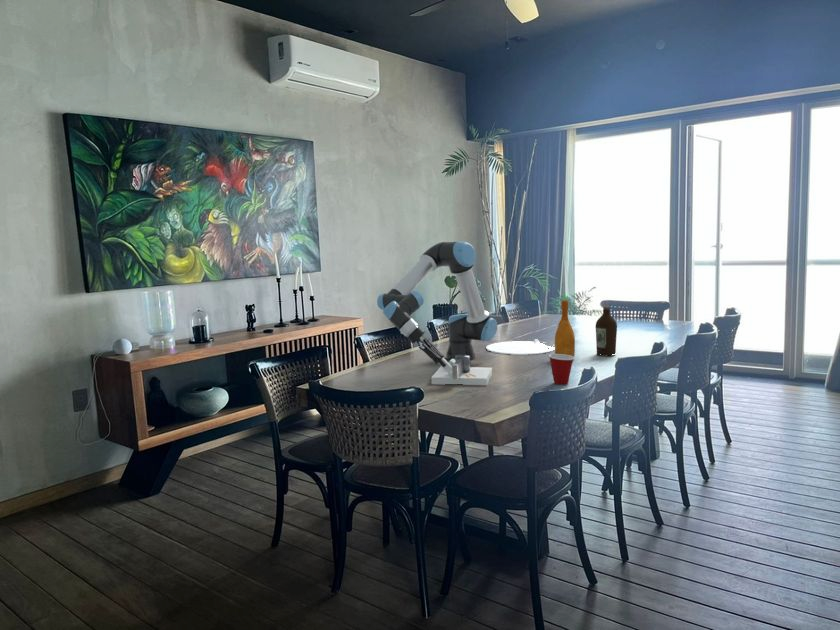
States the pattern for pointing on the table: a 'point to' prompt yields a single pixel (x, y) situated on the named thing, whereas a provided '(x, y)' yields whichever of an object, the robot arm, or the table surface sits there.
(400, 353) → the table surface
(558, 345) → the wine bottle
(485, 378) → the instrument base
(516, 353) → the lazy susan
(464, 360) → the dark grey lever
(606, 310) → the olive oil
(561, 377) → the plastic cup
